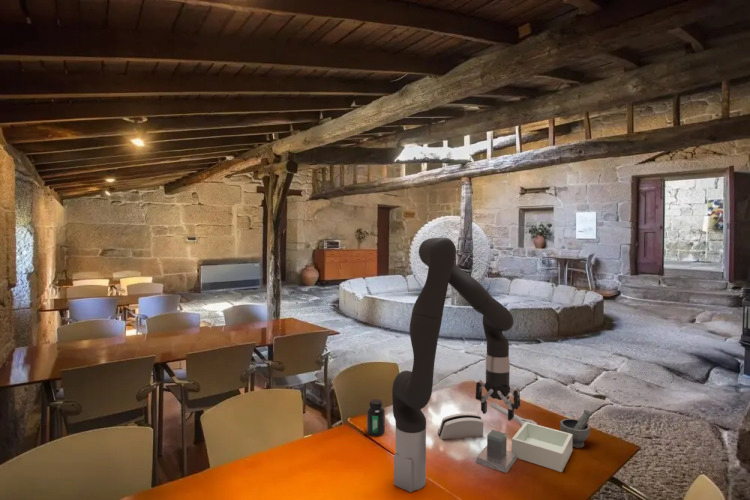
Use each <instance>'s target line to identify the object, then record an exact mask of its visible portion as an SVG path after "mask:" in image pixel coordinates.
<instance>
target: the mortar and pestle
mask: <svg viewBox="0 0 750 500" xmlns="http://www.w3.org/2000/svg"><path fill="white" fill-rule="evenodd" d="M592 415H593V412H591V411H590V410H588V409H584V410H583V413H582V415H581V416H580V418H578V419H575V418H562V419H561V420H560V421H559V427H560V428H559V429H560V431H562V432H566V433H570V434H573V446H572V448H573V447H574V448H576V449H577V448H584V446H585V441H586V440H587V439H588V438H589V436H590V434H591V427H590V425H589V423H588V422H589V420H590V419H591V418H590V417H592Z"/></svg>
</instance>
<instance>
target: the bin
mask: <svg viewBox="0 0 750 500" xmlns="http://www.w3.org/2000/svg"><path fill="white" fill-rule="evenodd" d="M572 446H573V434H570V433H566V432H562V431H561V430H558V429H555V428H551V427H546V426H543V425H539V424H537V425H536V424H532V423H529V422H525V423H524V425H523V426H521V427H520V428H519V429H518V431H516V433H515V434H514V436H513V437H512V438H511V452H513V453H516V454H517V459H519V460H523V461H526V462H529V463H532V464H534V465H538V466H541V467H544V468H547V469H550V470H554V471H556V472H559V473H563V471H564V469H565V467H566V465H567V463H568V461H569V459H570V457H571V455H572V452H573V447H572Z"/></svg>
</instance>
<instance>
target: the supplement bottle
mask: <svg viewBox="0 0 750 500" xmlns="http://www.w3.org/2000/svg"><path fill="white" fill-rule="evenodd" d="M385 426H386V411H385V408H384V407H383V400H382V399H379V398H374V399H373V398H372V399H371V400H369V407H368V408H367V410H366V432H367V434H368V435H369V436H371V437H381V436H383V435H384V434H385V431H386V427H385Z"/></svg>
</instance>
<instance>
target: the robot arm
mask: <svg viewBox="0 0 750 500" xmlns="http://www.w3.org/2000/svg"><path fill="white" fill-rule="evenodd" d="M418 257H419V259H420V261H421V262H422V263H423V264H424V265H426V267H427V277H426V281H425V283H424V286H423V287H422V290H421V291H420V293H419V295H418V296H417V299H416V300H415V302H414V305H413V307H412V310H411V311H412V312H411V314H410V315H411V316H410V323H409V328H408V329H409V337H410V343H411V347H412V349H411V350H412V355H413V363H412V370H402V371H401V372H399V373H398V374H397V375H396V376H395V377H394V379H393V383H392V388H391V389H392V391H391V392H392V394H391V395H392V397H391V398H392V413H393V418H394V420H395V453H394V455H393V457H394V458H393V485H394V486H396V487H397V488H400V489H402V490H405V491H406V492H409V493H413V492H414V491H418V490H421V489H422V488H424V487H425V486H426V478H427V474H426V473H427V472H426V471H427V468H426V467H427V465H426V464H427V418H426V416H425V414H424V412H423V411H422V409H424V408H425V407H426V406H427V405H428V403H429V402H430V399H431V396H432V393H433V385H434V374H435V373H434V372H435V362H436V354H437V348H438V347H437V346H438V341H439V336H440V331H441V327H442V321H443V316H444V315H443V314H444V307H445V305H446V304H445V303H446V298H447V294H448V287H449V285H450V286H451V287H452V288H453V289H454V290H455V291H457V292H458V294H459V295H460V296H461V297H462V298H463V299H464V300H465V301H466V302H467V303H468V304H469V306H470V307H472V309H473V310H474V311H476V313H477V312H478V313H479V314H481V315H482V326H483V327H482V328H483V332H484V335H485V336H484V337H485V339H486V355H485V356H486V358H485V382H483V381H482V380H478V381H477V382H476V385H475V400H478V401H480V410H481V411H480V412H482V414H484V415H486V414H487V413H488V401H487V400H488V399H489V398H491V399H493V400H494V399H497V400H498V401H502V402H503V403H504V404H505V405H506V406H507V408H508V409H507V410H508V416H507V421H509V422H511V421H512V420H514V419H513V417H514V414H515V410H518V409H519V408H520V407H521V394H520V388H511V387H510V370H511V365H510V364H511V363H510V357H509V355H510V350H509V348H510V347H509V346H510V343H509V339H508V338H507V337H506V336H505V335H504V332H508V331H510V330H511V329H512V328H513V325H514V317H513V314H512V312H510V311H509V309H508V308H506V306H504V305H503V304H502V303H500V302H499V301H498V300H497V299H495V298H494V297H493V296H492V295H491V294H490V293H489V291H488V290H487V289H486V288H485V287H484V286H483V285H482V284H481V283H480V282H479V281H478V280H477V279H475V278H474V277H472V275H470V274H468V273H467V272H466V271H464V270H463V269H462V268H460V267H459V266H458V265H457V264H456V263H455V262H456V257H457V248H456V245H455V243H454V242H453V241H452V239H451V238H448V237H431V238H427V239H425V240H423V241H422V242H421V244H420V245H419V248H418ZM484 388H485V390H486V394H485V395H484V396H483V395H482V394H483V389H484ZM510 393H511V396H512V397H513V400H512V397H511V396H510V395H509V394H510Z"/></svg>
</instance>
